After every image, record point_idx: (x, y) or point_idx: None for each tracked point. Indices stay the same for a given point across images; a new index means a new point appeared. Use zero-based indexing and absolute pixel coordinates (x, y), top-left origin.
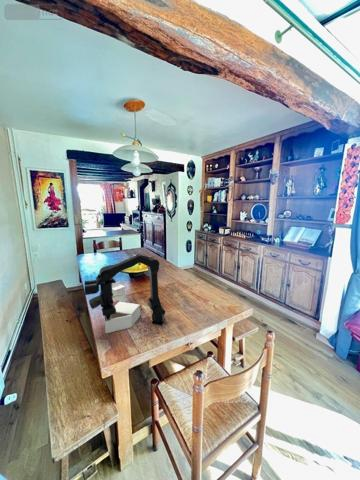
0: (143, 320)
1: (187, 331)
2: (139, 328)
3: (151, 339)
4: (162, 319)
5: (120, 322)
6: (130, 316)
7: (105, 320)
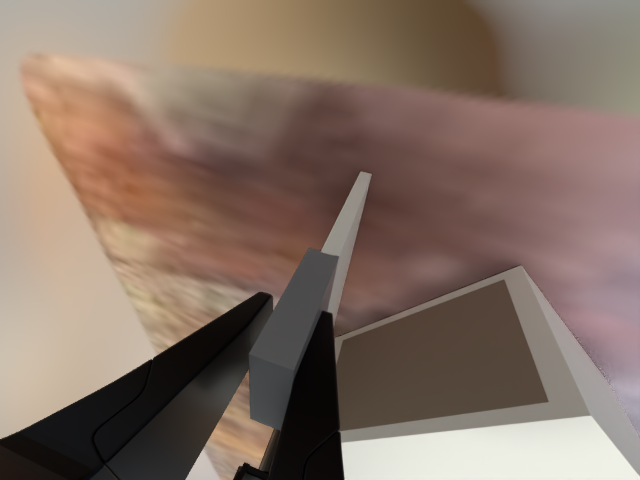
0: None
1: None
2: None
3: (187, 334)
4: (270, 440)
5: None
6: None
7: (303, 262)
